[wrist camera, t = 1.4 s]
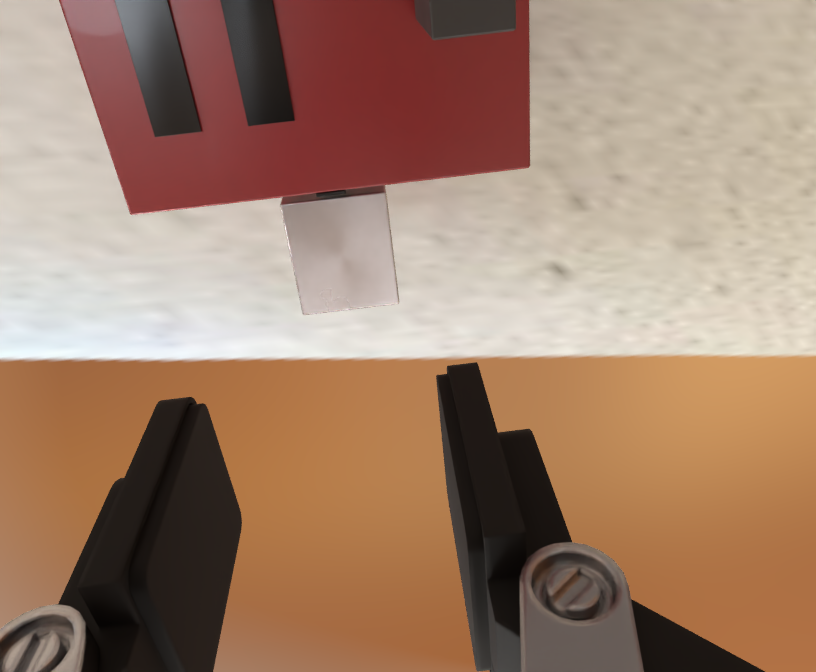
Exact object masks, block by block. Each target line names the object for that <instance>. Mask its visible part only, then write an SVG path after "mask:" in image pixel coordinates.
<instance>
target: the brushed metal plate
mask: <svg viewBox="0 0 816 672" xmlns="http://www.w3.org/2000/svg"><path fill="white" fill-rule="evenodd" d="M280 207H281V212H282V216H283V221H284V226H285V231H286V236H287V240H288V245H289V250H290V255H291V259H292V264H293V269H294V274H295V279H296V283H297V288H298V293H299V298H300V303H301V307H302V312H303V315H309V314H317V313H325V312H334V311H342V310H350V309H359V308H367V307H375V306H384V305H392V304H398V303H399V295H398V287H397V279H396V270H395V262H394V254H393V246H392V237H391V229H390V221H389V212H388V204H387V196H386V188H385V185H381V186H372V187H364V188H355V189H347V190H346V194H341V195H332V196H324V197H317V196H316V193H313V194H305V195H297V196H288V197H283V198H282V201H281V204H280Z"/></svg>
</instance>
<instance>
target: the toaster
mask: <svg viewBox="0 0 816 672" xmlns="http://www.w3.org/2000/svg"><path fill="white" fill-rule="evenodd" d="M59 1H60V4H61V7H62V10H63V13H64V16H65V19H66V22H67V25H68V28H69V31H70V34H71V37H72V40H73V43H74V46H75V49H76V52H77V55H78V58H79V61H80V64H81V67H82V70H83V73H84V76H85V79H86V82H87V85H88V88H89V91H90V94H91V97H92V100H93V103H94V106H95V109H96V112H97V115H98V118H99V121H100V124H101V127H102V130H103V133H104V136H105V139H106V142H107V145H108V148H109V151H110V154H111V157H112V160H113V163H114V166H115V169H116V172H117V175H118V178H119V181H120V184H121V187H122V190H123V193H124V196H125V199H126V202H127V205H128V208H129V212H130V214H131V215H137V214H145V213H154V212H162V211H171V210H179V209H187V208H196V207H204V206H213V205H221V204H229V203H238V202H246V201H255V200H263V199H271V198H280V197H288V196H297V195H305V194H313V193H316V196H317V197H324V196H332V195H341V194H346V190H347V189H355V188H364V187H372V186H381V185H389V184H397V183H406V182H414V181H423V180H431V179H440V178H448V177H456V176H465V175H473V174H482V173H490V172H498V171H507V170H515V169H524V168H529V166H530V71H529V0H516V29H515V30H514V31H509V32H500V33H492V34H483V35H475V36H466V37H458V38H449V39H441V40H432V38H431V37H430V36H429V35H428V33H427V32H426V31H425V30H424V28H423V27H422V26H421V25H420V23H419V22H418V21H417V20H416V16H415V4H414V0H59Z"/></svg>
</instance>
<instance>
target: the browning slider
mask: <svg viewBox="0 0 816 672" xmlns="http://www.w3.org/2000/svg"><path fill="white" fill-rule="evenodd" d="M414 4H415V16H416V20H417V21H418V22H419V23H420V25H421V26H422V27H423V28H424V30H425V31H426V32H427V33H428V35H429V36H430V37H431V38H432V40H441V39H449V38H458V37H466V36H475V35H483V34H492V33H500V32H509V31H514V30H515V29H516V0H414Z"/></svg>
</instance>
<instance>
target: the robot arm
mask: <svg viewBox="0 0 816 672" xmlns="http://www.w3.org/2000/svg"><path fill="white" fill-rule="evenodd" d="M436 377H437V378H436V379H437V390H438V400H439V411H440V422H441V432H442V442H443V453H444V464H445V474H446V485H447V494H448V500H449V507H450V513H451V519H452V525H453V532H454V538H455V544H456V549H457V556H458V562H459V568H460V574H461V580H462V586H463V591H464V598H465V605H466V611H467V617H468V623H469V629H470V635H471V641H472V647H473V653H474V659H475V665H476V670H477V671H485V670H490V672H765V671H763V670H761V669H759V668H757V667H756V666H754V665H751V664H750V663H748V662H746V661H744V660H743V659H741V658H739V657H737V656H735V655H733V654H731V653H730V652H728V651H726V650H724V649H722V648H720V647H718V646H717V645H715V644H713V643H711V642H709V641H708V640H706V639H703V638H702V637H700V636H698V635H696V634H695V633H693V632H691V631H689V630H687V629H685V628H683V627H682V626H680V625H678V624H676V623H674V622H672V621H671V620H669V619H667V618H665V617H663V616H661V615H659V614H658V613H656V612H654V611H652V610H650V609H648V608H647V607H645V606H643V605H641V604H639V603H637V602H635V601H633V600H632V599H631V597H630V591H629V586H628V583H627V581H626V578H625V575H624V573H623V572H622V570H621V569H620V568H619V566H618V565H617V564H616V563H615V561H614V560H613V559H611V558H610V557H609V556H607V555H606V554H604V553H603V552H602V551H600V550H598V549H595V548H592V547H590V546H588V545H585V544H578V543H572V540H571V537H570V535H569V532H568V529H567V526H566V524H565V521H564V518H563V515H562V512H561V510H560V507H559V504H558V501H557V499H556V496H555V493H554V491H553V488H552V485H551V482H550V479H549V476H548V474H547V471H546V468H545V465H544V463H543V460H542V457H541V454H540V452H539V449H538V447H537V443H536V441H535V438H534V435H533V433H532V431H531V430H530V429H524V430H515V431H507V432H500V433H498V432H497V429H496V426H495V422H494V418H493V415H492V412H491V408H490V404H489V402H488V398H487V394H486V391H485V387H484V384H483V380H482V377H481V373H480V370H479V366H478V364H477V363H468V364H460V365H452V366H447V374H444V375H437V376H436ZM241 524H242V520H241V512H240V508H239V505H238V502H237V499H236V496H235V492H234V489H233V486H232V483H231V480H230V477H229V474H228V471H227V468H226V465H225V462H224V458H223V455H222V452H221V449H220V446H219V443H218V440H217V436H216V433H215V430H214V427H213V424H212V421H211V418H210V414H209V411H208V409H207V407H206V405H205V404H197V403H196V401H195V400H194V398H192V397H186V398H178V399H170V400H162V401H159V402H158V404H157V405H156V407H155V409H154V412H153V414H152V416H151V419H150V421H149V423H148V425H147V428H146V430H145V432H144V435H143V437H142V439H141V442H140V444H139V446H138V448H137V451H136V453H135V455H134V458H133V460H132V462H131V464H130V467H129V469H128V471H127V473H126V476H125V478H120V479H118V480H117V481H116V482H115V483H114V484H113V486H112V488H111V489H110V492H109V494H108V496H107V498H106V500H105V502H104V505H103V507H102V509H101V511H100V513H99V516H98V518H97V520H96V522H95V524H94V527H93V529H92V531H91V534H90V535H89V538H88V540H87V542H86V544H85V546H84V549H83V551H82V553H81V555H80V557H79V560H78V562H77V564H76V566H75V568H74V571H73V573H72V575H71V577H70V580H69V582H68V584H67V586H66V588H65V591H64V593H63V595H62V597H61V599H60V601H59V604H56V605H50V606H43V607H39V608H36V609H34V610H31V611H29V612H26V613H24V614H22V615H20V616H19V617H17V618H15V619H14V620H12V621H10V622H9V623H7V624H6V625H5V626H4V627H3V628H1V629H0V672H213V669H214V664H215V658H216V654H217V648H218V644H219V639H220V634H221V629H222V624H223V619H224V614H225V609H226V603H227V599H228V594H229V588H230V583H231V579H232V574H233V568H234V564H235V558H236V553H237V548H238V543H239V538H240V533H241V526H242V525H241Z"/></svg>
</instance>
